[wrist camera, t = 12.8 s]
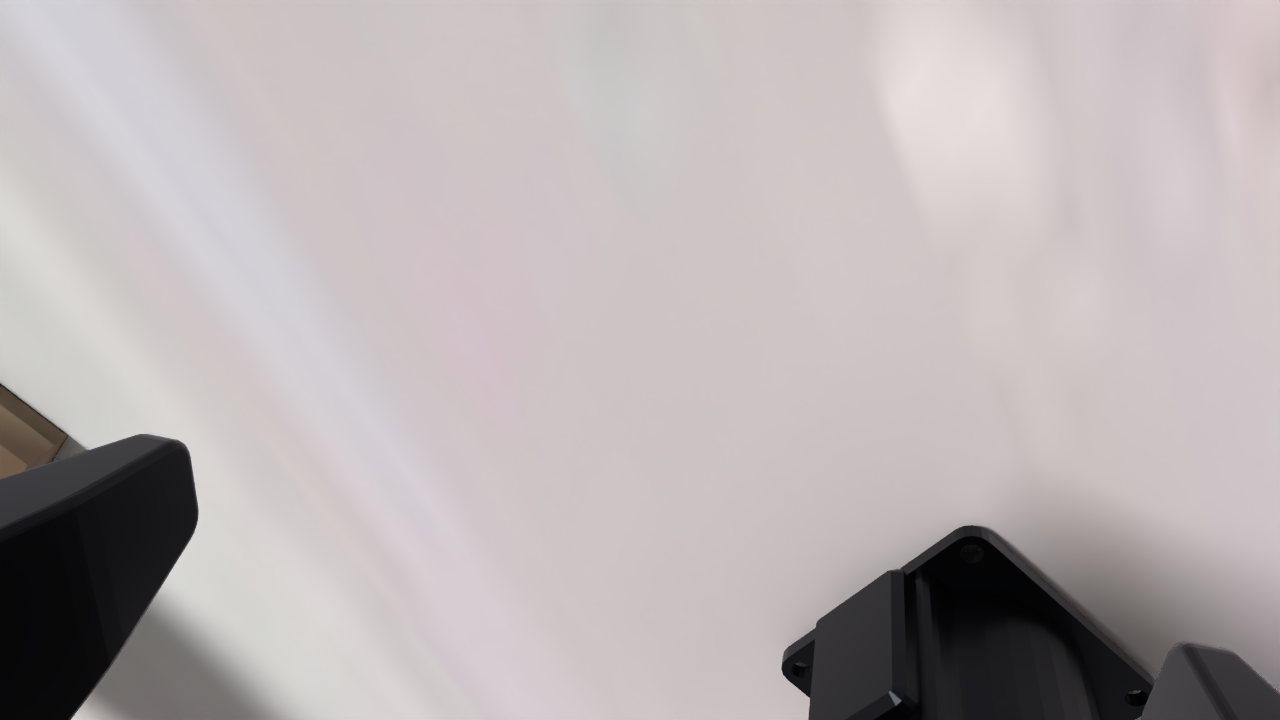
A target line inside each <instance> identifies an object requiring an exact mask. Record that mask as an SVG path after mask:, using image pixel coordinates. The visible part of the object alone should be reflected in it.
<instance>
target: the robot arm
mask: <svg viewBox="0 0 1280 720" xmlns="http://www.w3.org/2000/svg"><path fill="white" fill-rule="evenodd" d="M197 521H198V503H197V497H196V490H195V483H194V477H193V470H192V464H191V457H190V453H189V450H188V449H187V447H186V446H185V444H184V443H182V442H180V441H179V440H175V439H170V438H165V437H160V436H155V435H150V434H139V435H135V436H132V437H129V438H126V439H122V440H119V441H116V442H113V443H110V444H107V445H104V446H101V447H97V448H94V449H91V450H88V451H85V452H82V453H79V454H76V455H72V456H69V457H66V458H63V459H60V460H57V461H54V462H51V463H47V464H44V465H41V466H38V467H35V468H32V469H29V470H26V471H22V472H19V473H16V474H13V475H10V476H7V477H4V478H1V479H0V720H71V719H72V717H73V716H74V715H75V713H76V712H77V711H78V710H79V708H80V707H81V706H82V704H83V703H84V702H85V700H86V699H87V698H88V697H89V695H90V694H91V693H92V691H93V690H94V689H95V687H96V686H97V685H98V683H99V682H100V680H101V679H102V678H103V676H104V675H105V674H106V672H107V671H108V670H109V668H110V667H111V665H112V664H113V662H114V661H115V659H116V658H117V656H118V655H119V653H120V652H121V650H122V649H123V647H124V646H125V644H126V643H127V641H128V639H129V638H130V636H131V634H132V633H133V631H134V630H135V628H136V626H137V625H138V623H139V622H140V620H141V618H142V617H143V615H144V614H145V612H146V610H147V609H148V607H149V605H150V604H151V602H152V601H153V599H154V597H155V596H156V594H157V593H158V591H159V589H160V588H161V586H162V584H163V583H164V581H165V580H166V578H167V576H168V575H169V573H170V572H171V570H172V568H173V567H174V565H175V563H176V562H177V560H178V559H179V557H180V555H181V554H182V552H183V551H184V549H185V547H186V546H187V544H188V543H189V541H190V539H191V537H192V536H193V534H194V531H195V528H196V525H197ZM968 545H977V546H979V547H981V548H980V549H979V550H978V551H975V552H966V551H964V550H962V549H963V548H964V547H965V546H968ZM798 662H801V663H805V664H807V665H809V666H806V667H803V666H798V665H797V664H795V663H798ZM781 669H782V672H783V675H784V676H785V677H786V678H787V679H788V680H789V681H790V682H791V683H792V684H794V685H795V686H796V687H797V688H798V689H800V690H801V691H802V692H803V693H805V694H806V695H807V696H808V697H809V698H810V708H809V720H1135V719H1137V718H1139V717H1140V716H1142V717H1141V720H1280V693H1279V692H1278V691H1276V690H1275V689H1274V688H1273V687H1272V686H1271V685H1270V684H1269V683H1268V682H1267V681H1265V680H1264V679H1263V678H1262V677H1261V676H1260V675H1259V674H1258V673H1257V672H1256V671H1254V670H1253V669H1252V668H1251V667H1250V666H1249V665H1248V664H1247V663H1246V662H1245V661H1243V660H1242V659H1241V658H1240V657H1239V656H1238V655H1236V654H1235V653H1234V652H1232V651H1230V650H1227V649H1223V648H1218V647H1213V646H1208V645H1203V644H1198V643H1193V642H1188V641H1183V642H1180V643H1177V644H1175V645H1174V646H1173V647H1172V649H1171V650H1170V651H1169V653H1168V655H1167V657H1166V660H1165V662H1164V664H1163V666H1162V669H1161V671H1160V673H1159V675H1158V678H1157V680H1156V682H1155V681H1154V679H1153V678H1152V677H1151V675H1149V674H1148V673H1147V672H1146V671H1145V670H1144V669H1143V668H1142V667H1140V666H1139V665H1138V664H1137V663H1136V662H1135V661H1134V660H1133V659H1131V658H1130V657H1129V656H1128V655H1127V654H1126V653H1125V652H1123V651H1122V650H1121V649H1120V648H1119V647H1118V646H1117V645H1116V644H1114V643H1113V642H1112V641H1111V640H1110V639H1109V638H1108V637H1107V636H1105V635H1104V634H1103V633H1102V632H1101V631H1100V630H1099V629H1098V628H1096V627H1095V626H1094V625H1093V624H1092V623H1091V622H1090V621H1088V620H1087V619H1086V618H1085V617H1084V616H1083V615H1082V614H1081V613H1079V612H1078V611H1077V610H1076V609H1075V608H1074V607H1073V606H1072V605H1070V604H1069V603H1068V602H1067V601H1066V600H1065V599H1064V598H1062V597H1061V596H1060V595H1059V594H1058V593H1057V592H1056V591H1055V590H1053V589H1052V588H1051V587H1050V586H1049V585H1048V584H1047V583H1046V582H1044V581H1043V580H1042V579H1041V578H1040V577H1039V576H1038V575H1037V574H1035V573H1034V572H1033V571H1032V570H1031V569H1030V568H1029V567H1027V566H1026V565H1025V564H1024V563H1023V562H1022V561H1021V560H1020V559H1018V558H1017V557H1016V556H1015V555H1014V554H1013V553H1012V552H1011V551H1009V550H1008V549H1007V548H1006V547H1005V546H1004V545H1003V544H1002V543H1000V542H999V541H998V540H997V539H996V538H995V537H994V536H992V535H991V534H990V533H989V532H988V531H986V530H985V529H983V528H981V527H978V526H973V525H971V526H963V527H960V528H958V529H956V530H954V531H953V532H952V533H950V534H949V535H947V536H946V537H944V538H943V539H942V540H940V541H939V542H937V543H936V544H935V545H933V546H932V547H930V548H929V549H927V550H926V551H925V552H923V553H922V554H920V555H919V556H917V557H916V558H915V559H913V560H912V561H910V562H909V563H907V564H906V565H905V566H903V567H902V568H900V569H895V570H890V571H887V572H886V573H884V574H883V575H882V576H880V577H879V578H877V579H876V580H874V581H873V582H872V583H870V584H869V585H867V586H866V587H865V588H863V589H862V590H860V591H859V592H858V593H856V594H855V595H853V596H852V597H850V598H849V599H848V600H846V601H845V602H843V603H842V604H841V605H839V606H838V607H836V608H835V609H833V610H832V611H831V612H829V613H828V614H826V615H825V616H824V617H822V618H821V619H819V620H818V622H817V624H816V628H815V629H813V630H812V631H811V632H809V633H808V634H806V635H805V636H803V637H802V638H801V639H799V640H798V641H796V642H795V643H794V644H792V645H791V646H789V647H788V648H787V649H786V650H785V651H784V654H783V660H782V668H781ZM1133 690H1141V692H1140V693H1136V694H1128V692H1130V691H1133Z"/></svg>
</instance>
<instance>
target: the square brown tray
mask: <svg viewBox="0 0 1280 720" xmlns="http://www.w3.org/2000/svg"><path fill="white" fill-rule="evenodd" d="M66 438H67V435H65V434H64V433H63V432H61V431H60V430H59V429H57V428H56V427H55V426H54V425H52V424H51V423H50V422H48V421H47V420H46V419H44V418H43V417H42V416H40V415H39V414H38V413H36V412H35V411H34V410H32V409H31V408H30V407H28V406H27V405H26V404H24V403H23V402H22V401H21V400H19V399H18V398H17V397H15V396H14V395H13V394H11V393H10V392H9V391H7V390H6V389H5V388H3V387H2V386H1V385H0V479H1V478H4V477H7V476H10V475H13V474H16V473H19V472H22V471H26V470H29V469H32V468H35V467H38V466H41V465H44V464H47V463H51V462H52V461H53V459H54V457H55V456H56V454H57V452H58V451H59V449H60V448H61V446H62V444H63V443H64V441H65V439H66Z"/></svg>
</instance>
